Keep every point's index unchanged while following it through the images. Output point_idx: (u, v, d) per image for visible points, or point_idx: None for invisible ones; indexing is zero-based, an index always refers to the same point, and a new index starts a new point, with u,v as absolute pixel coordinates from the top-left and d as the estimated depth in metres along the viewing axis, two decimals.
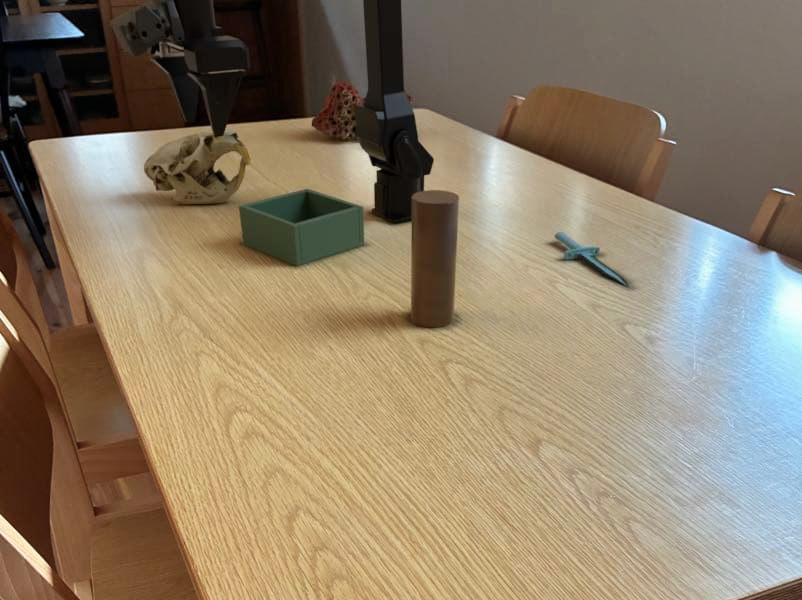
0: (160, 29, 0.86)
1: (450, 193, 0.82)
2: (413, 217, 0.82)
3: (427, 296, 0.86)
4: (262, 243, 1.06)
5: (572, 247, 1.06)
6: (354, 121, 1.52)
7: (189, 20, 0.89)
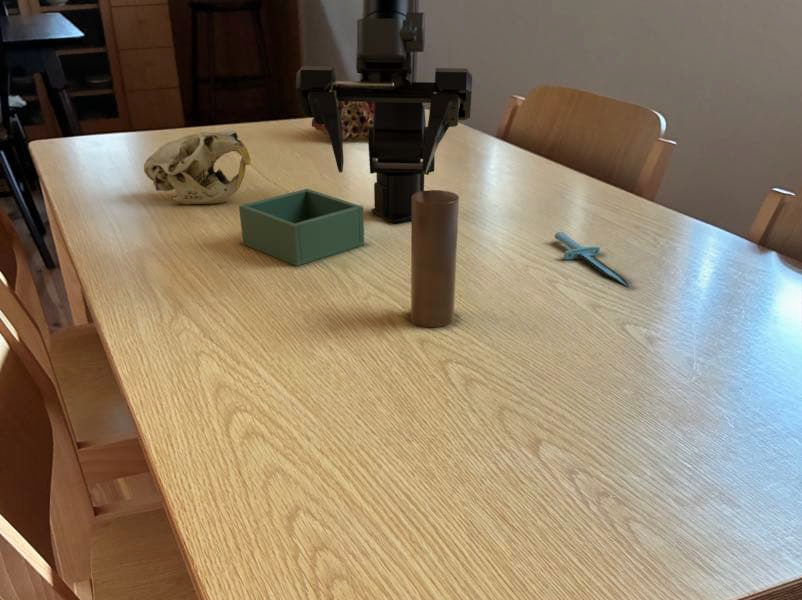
0: None
1: (450, 193, 0.82)
2: (413, 217, 0.82)
3: (427, 296, 0.86)
4: (262, 243, 1.06)
5: (572, 247, 1.06)
6: (354, 121, 1.52)
7: None
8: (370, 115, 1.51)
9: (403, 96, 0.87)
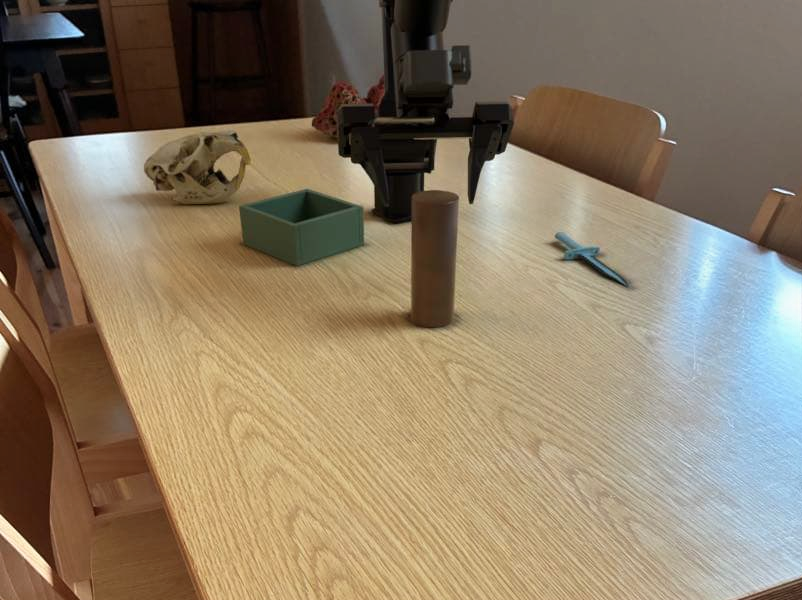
0: None
1: (450, 193, 0.82)
2: (413, 217, 0.82)
3: (427, 296, 0.86)
4: (262, 243, 1.06)
5: (572, 247, 1.06)
6: None
7: None
8: None
9: (443, 131, 0.87)
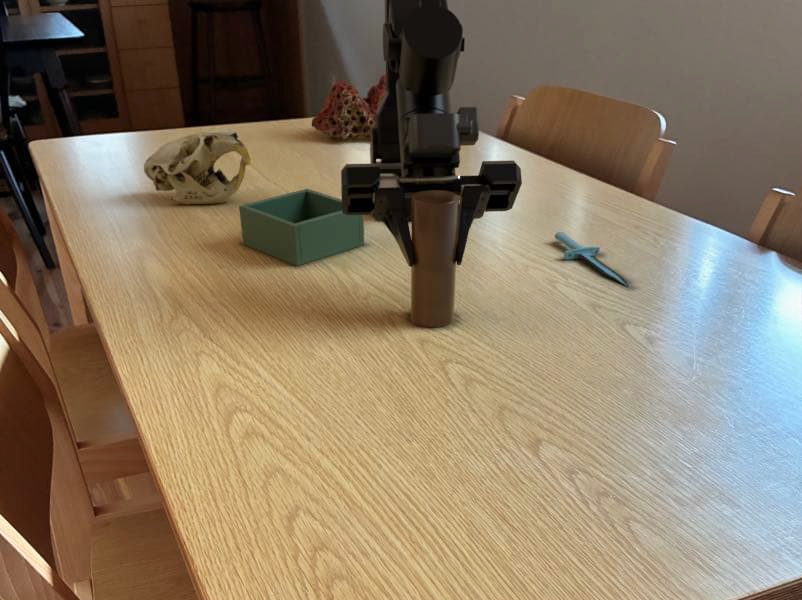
0: None
1: (450, 194, 0.82)
2: (413, 217, 0.82)
3: (427, 296, 0.86)
4: (262, 243, 1.06)
5: (572, 247, 1.06)
6: (354, 121, 1.52)
7: None
8: (370, 115, 1.51)
9: None
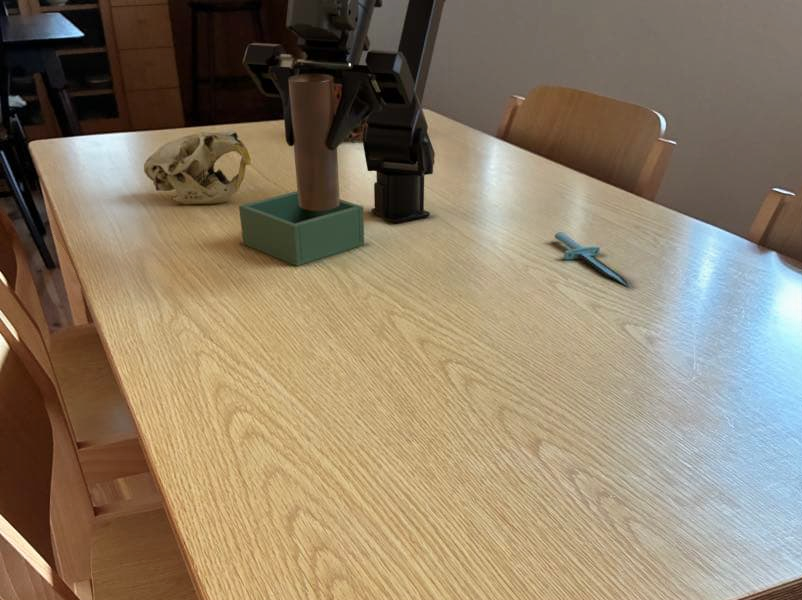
0: (355, 22, 0.84)
1: (327, 77, 0.86)
2: None
3: (301, 177, 0.90)
4: (262, 243, 1.06)
5: (572, 247, 1.06)
6: None
7: (355, 45, 0.88)
8: None
9: None
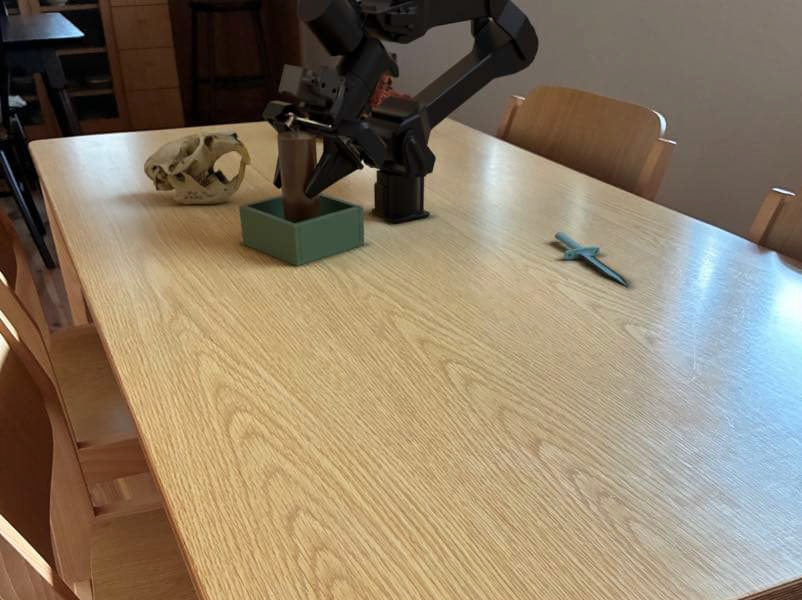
0: (333, 93, 0.97)
1: (309, 136, 1.00)
2: None
3: (284, 216, 1.06)
4: (262, 243, 1.06)
5: (572, 247, 1.06)
6: None
7: (345, 110, 1.01)
8: None
9: None
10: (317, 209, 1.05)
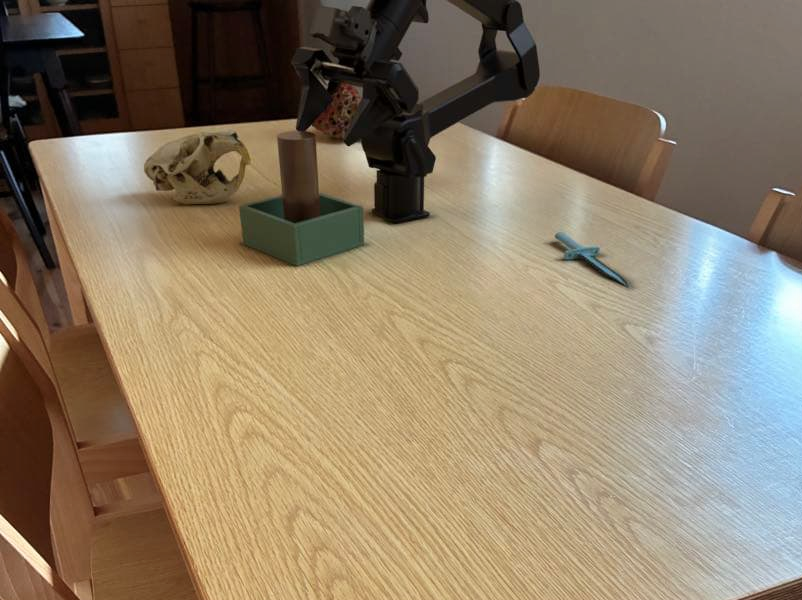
0: (365, 35, 0.96)
1: (309, 136, 1.00)
2: None
3: (284, 216, 1.06)
4: (262, 243, 1.06)
5: (572, 247, 1.06)
6: None
7: (376, 54, 1.00)
8: None
9: (361, 81, 1.01)
10: (317, 209, 1.05)
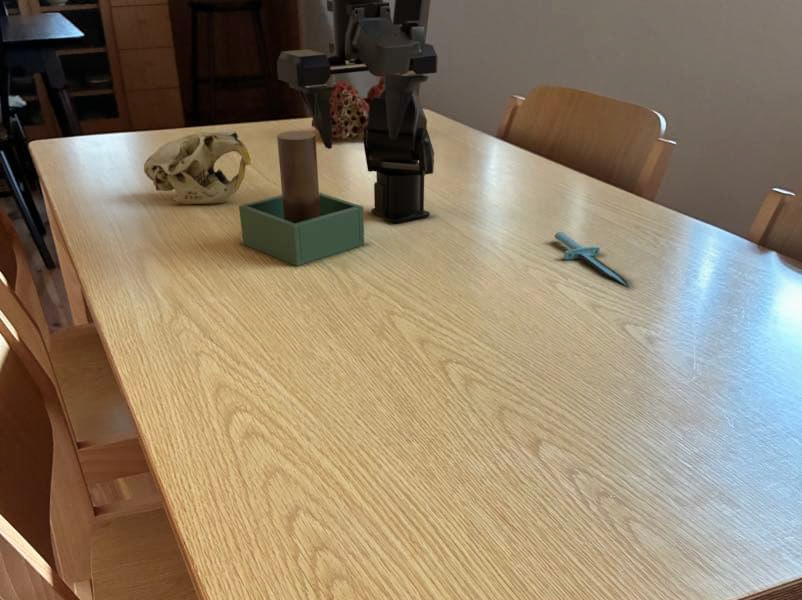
0: None
1: (309, 136, 1.00)
2: None
3: (284, 216, 1.06)
4: (262, 243, 1.06)
5: (572, 247, 1.06)
6: (354, 121, 1.52)
7: None
8: None
9: None
10: (317, 209, 1.05)
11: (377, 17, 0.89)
